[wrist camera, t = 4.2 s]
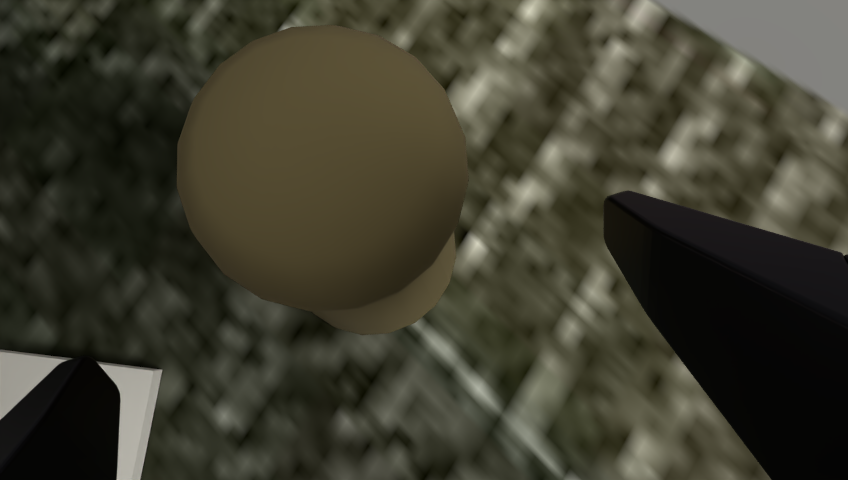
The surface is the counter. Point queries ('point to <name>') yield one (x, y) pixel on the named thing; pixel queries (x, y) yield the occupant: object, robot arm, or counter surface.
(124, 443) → the letter board
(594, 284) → the counter surface
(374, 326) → the cork
